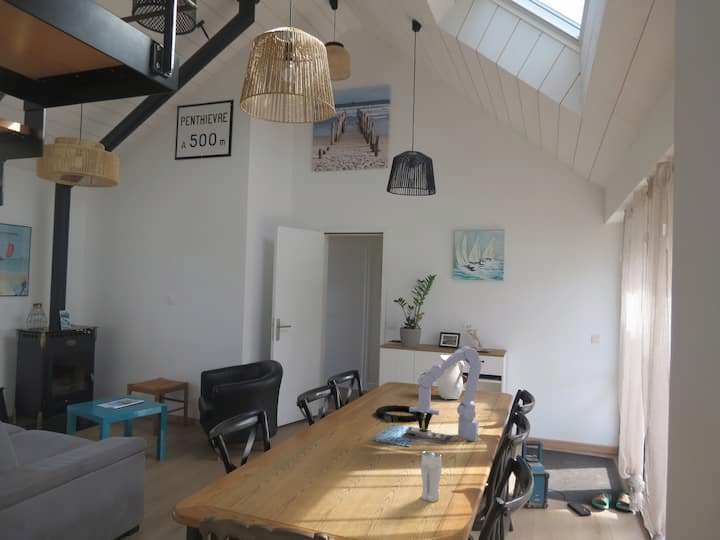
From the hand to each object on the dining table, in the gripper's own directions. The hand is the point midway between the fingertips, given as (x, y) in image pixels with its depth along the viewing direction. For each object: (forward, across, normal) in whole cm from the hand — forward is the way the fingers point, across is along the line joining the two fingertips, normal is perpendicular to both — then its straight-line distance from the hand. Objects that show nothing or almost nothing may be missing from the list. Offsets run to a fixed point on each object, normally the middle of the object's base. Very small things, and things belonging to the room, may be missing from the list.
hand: (423, 428), depth 247 cm
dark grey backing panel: (+4, +2, 0) cm, 5 cm away
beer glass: (+5, +23, -68) cm, 72 cm away
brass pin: (+3, 0, 0) cm, 3 cm away
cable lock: (+5, -24, +33) cm, 41 cm away
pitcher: (+5, -9, +95) cm, 96 cm away
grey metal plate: (+4, +1, 0) cm, 4 cm away
